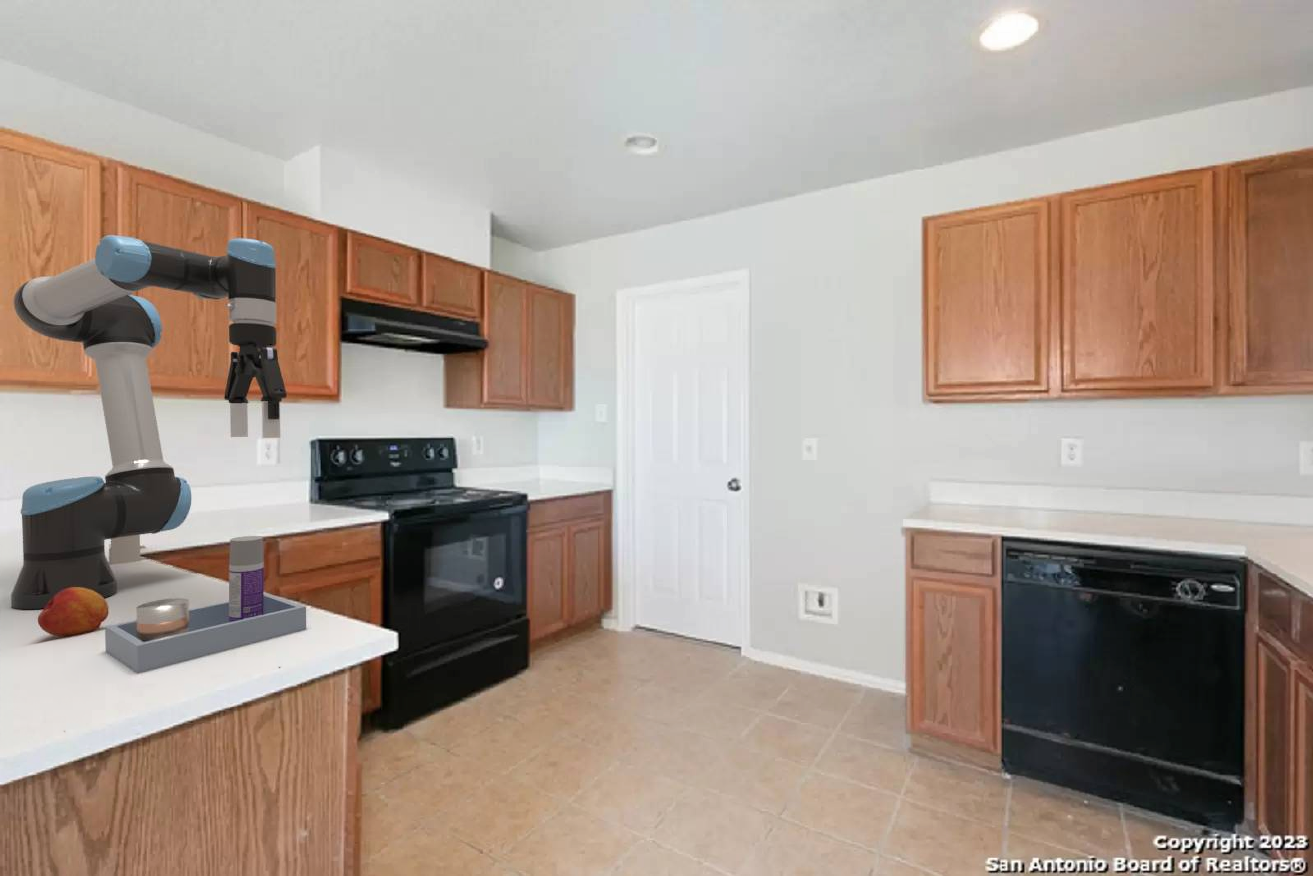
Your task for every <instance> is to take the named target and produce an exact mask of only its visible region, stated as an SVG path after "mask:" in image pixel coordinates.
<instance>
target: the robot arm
mask: <svg viewBox="0 0 1313 876" xmlns="http://www.w3.org/2000/svg"><path fill="white" fill-rule="evenodd" d="M274 249H275V248H273V246H272V245H271V244H269V243H267V242H265V241H261V240H257V239H253V238H244V237H243V238H239V237H238V238H231V239H229V240H228V242H227V248H226V250H225V251H226V255H222V256H212V255H207V254H202V253H199V252H194V251H190V250H184V249H180V248H177V247H176V248H175V247H172V246H167V245H164V244H163V245H162V244H160V243H159V244H158V243H154V242H151V241H146V240H142V239H138V238H136V237H131V236H120V235H113V234H108V235H105V236H104V237H102V238H101V239H100V242H99V243H98V244H97V245H96V248H95V252H94V253H95V254H94V257H93V258H91V259H89V260H87V261H84V262H82V263H81V264H80V263H79V264H78V265H76V266H73V267H72V268H70V269H67V270H65V271H63V272H60V273H59V274H56V275H55V276H39V277H36V278H34V279H31V280H28V281H27V282H24V283H23V284H22V285H21V286H20V287H19V288H18V289H17V290H16V292H15V294H14V297H13V307H14V310H15V313H16V315H17V316H18V318H19V319H20V320H21V322H23V323H24V325H26V326H27V327H28V328H29V329H31V330H32V331H34V332H36V333H38V334H40V335H42V336H44V337H48V338H50V339H54V340H58V341H63V342H64V341H65V342H74V343H81V344H82V347H83V352H84V355H86V357H89V358H90V359H92V360H93V361H94V362H95V366H96V368H95V369H96V373H97V380H98V386H99V391H100V397H101V403H102V410H103V411H102V412H103V416H104V423H105V428H106V433H107V440H108V446H109V453H110V458H111V464H112V468H111V469H110V470H109V471H108V472H107V473H106V475H105V476H104V480H103V477H101V476H83V477H75V478H74V477H73V478H66V479H65V478H64V479H58V480H52V481H47V482H42V483H38V484H35V485H32V486H30V487H28V488H26V489H25V490H24V492H23V493H22V497H21V499H22V501H21V503H22V505H21V508H20V515H21V523H22V524H21V525H22V527H21V528H22V553H23V555H22V556H23V557H22V558H23V562H22V563H23V564H22V567H21V569H20V571H19V574H18V577H17V580H16V582H15V584H14V586H13V589H12V592H11V595H10V605H11V607H12V608H14V609H20V610H39V609H45V606H46V605H47V603H48V602H49V601H50V600H51V599H52V598H53V597H54V596H55V595H56V594H57V593H59V592H60V591H61V590H63V589H66V588H71V587H82V588H87V589H90V590H93V591H95V592H97V593H98V594H100V595H101V596H102V597H103V598H104V599H105V598H108V597H109V596H113V595H115V594H116V593H117V592H118V583H117V582H118V581H117V578H116V576H115V574H114V572H113V570H112V567H111V565H110V564H109V560H108V559H107V557H106V552H105V551H106V549H105V540H111V539H113V538H119V537H126V536H134V535H147V534H151V535H152V534H158V533H160V532H166V531H171V530H174V529H177V528H178V527H180V526H181V525H182V524H183V523H184V522H185V520H186V519H187V517H188V515H189V514H190V510H191V507H192V490H191V487H190V484H189V483H188V481H187V480H186V479H185V478H183V477H180V476H175V471H174V470H175V469H174V467H173V466H172V465H170V464H168V463H166V462H165V460H164V457H163V451H162V445H161V438H160V434H159V429H158V428H159V427H158V421H157V416H156V411H155V403H154V398H153V393H152V388H151V387H152V386H151V380H150V375H149V369H148V364H147V358H149V356H151V355H152V354H153V353H154V348H155V347H157V346H158V345H159V343H160V341H161V339H162V334H161V333H162V332H163V326H162V325H163V324H162V319H161V316H160V315H159V312H158V310H157V308H156V307H155V305H154V304H153V303H151V302H150V301H149V300H147V299H146V298H144V297H141V296H137V295H131V294H134V293H136V292H139V291H141V290H144V289H147V288H149V287H155V288H161V289H167V290H173V291H179V292H185V293H189V294H193V295H194V296H196V297H197V298H201V299H204V300H220V299H223V300H224V299H226V298H227V299H228V303H226V305H225V308H227V309H228V320H229V321H230V322H232V323H230V324H229V325H228V341H229V344H231V345H232V346H238V348H239V350H238V351H231V353H230V365H229V369H228V376H227V379H226V380H227V381H226V386H225V390H224V391H225V392H224V396H223V399H224V400H225V401H228V403H229V408H230V411H229V414H230V416H229V417H230V437H231V438H237V437H238V438H246V437H249V431H248V429H249V427H248V426H249V424H248V404H249V403H250V402H249V401H248V399H247V397H248V393H249V391H250V388H251V384H252V382H253V378H255V380H256V382H257V385H258V388H259V390H260V391H261V393H262V397H261V398H260V402H261V419H262V420H261V421H262V422H261V425H262V439H277V438H279V439H280V438H281V402H282V400H283V399H286V398H287V391H286V387H285V383H284V379H283V375H282V371H281V368H280V363H279V359H278V357H279V356H278V349H277V348H274V347H276V346H277V328H276V326H274V325H276V324H277V302H276V293H277V291H276V286H277V285H276V283H277V282H276V281H277V280H276V279H277V278H276V277H277V275H276V271H277V265H276V261H275V250H274Z"/></svg>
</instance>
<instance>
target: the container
mask: <svg viewBox="0 0 1313 876" xmlns="http://www.w3.org/2000/svg"><path fill="white" fill-rule="evenodd" d="M229 541H230V543H229V566H228V601H229V622H234V621H238V620H242V619H247V618H251V617H255V616H260V615H263V603H264V594H265V593H264V588H265V587H264V585H265V582H264V579H265V577H264V576H265V573H264V572H265V569H264V568H265V566H264V537H263V536H260V535H246V536H245V535H244V536H237V537H233V538H230V540H229Z"/></svg>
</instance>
